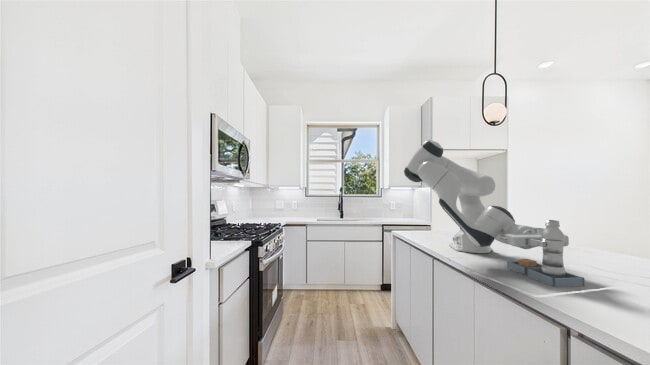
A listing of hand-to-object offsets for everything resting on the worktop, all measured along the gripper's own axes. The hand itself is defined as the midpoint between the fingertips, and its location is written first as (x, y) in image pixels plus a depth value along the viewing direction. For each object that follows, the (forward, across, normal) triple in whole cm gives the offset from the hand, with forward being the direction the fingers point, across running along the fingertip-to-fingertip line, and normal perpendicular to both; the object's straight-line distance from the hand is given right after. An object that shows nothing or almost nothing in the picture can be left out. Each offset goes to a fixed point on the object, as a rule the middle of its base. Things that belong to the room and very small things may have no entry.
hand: (554, 244), depth 93 cm
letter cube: (-12, 0, +12) cm, 18 cm away
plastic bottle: (-1, 0, +12) cm, 12 cm away
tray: (-1, 0, +13) cm, 13 cm away
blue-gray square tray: (-12, 0, +13) cm, 18 cm away
